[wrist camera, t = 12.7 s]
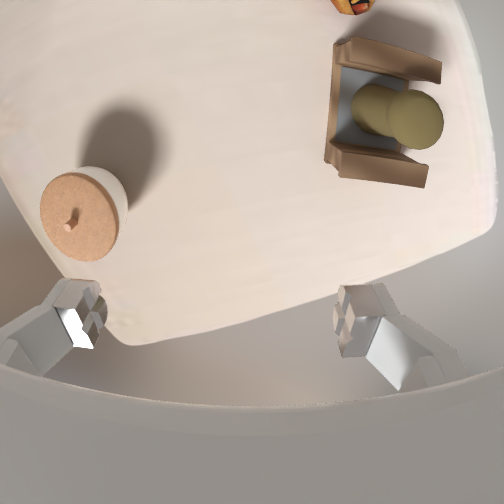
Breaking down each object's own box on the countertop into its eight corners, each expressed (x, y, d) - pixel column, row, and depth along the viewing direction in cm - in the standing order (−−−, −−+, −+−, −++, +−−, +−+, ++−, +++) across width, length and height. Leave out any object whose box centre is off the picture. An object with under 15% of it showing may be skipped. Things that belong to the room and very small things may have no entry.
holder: (331, 44, 26) (353, 32, 19) (406, 61, 26) (442, 59, 19) (322, 160, 33) (339, 180, 26) (393, 169, 33) (423, 191, 26)
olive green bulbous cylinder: (408, 114, 28) (464, 131, 19) (373, 145, 30) (419, 173, 21) (376, 73, 26) (428, 71, 16) (339, 105, 28) (378, 114, 19)
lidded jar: (65, 213, 36) (28, 246, 28) (81, 144, 31) (38, 165, 23) (127, 243, 39) (99, 284, 31) (151, 175, 34) (121, 204, 26)
